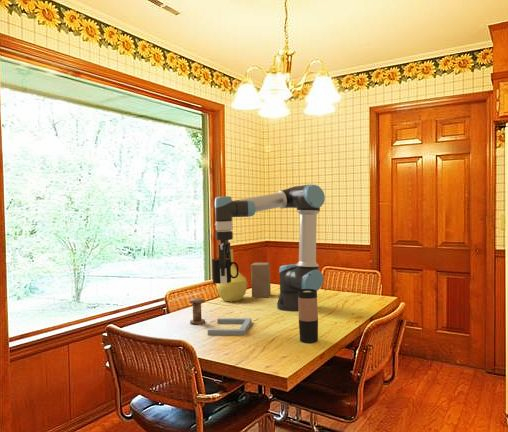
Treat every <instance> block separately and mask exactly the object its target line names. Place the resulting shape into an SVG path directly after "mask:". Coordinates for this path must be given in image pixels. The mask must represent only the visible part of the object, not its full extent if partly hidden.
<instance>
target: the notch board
mask: <svg viewBox="0 0 508 432" xmlns="http://www.w3.org/2000/svg"><path fill="white" fill-rule="evenodd" d="M216 321H217V324H227V325H228V324H229V325H230V324H238V325H240V324H242V325H241V326H240V328H208V329H207V336H245V335H246V333H247V332H248V331H249V328H250V327H251V324H252V323H253V321H252V318H251V317H250V318H249V317H241V318H240V317H236V318H235V317H218V318H217V319H216Z"/></svg>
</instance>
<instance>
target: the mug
mask: <svg viewBox="0 0 508 432" xmlns="http://www.w3.org/2000/svg"><path fill="white" fill-rule="evenodd" d="M232 264H234V266H235V268H236V269H237V274H236V276H235V277H233V276H232V275H231V265H232ZM211 267H212V268H211V270H212V271H211V272H212V283H213V284H216V283H217V284H222V283H221V282H220V269H218V267H219V257H217V258H212V259H211ZM226 270H227V283H229V282H231V278H237V276H238V274H239V272H240V271H239V270H240V269H239V265H238V263H237V262H235V261H234V262H231V261H230V258H227V259H226Z"/></svg>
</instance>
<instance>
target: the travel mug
mask: <svg viewBox="0 0 508 432" xmlns="http://www.w3.org/2000/svg"><path fill="white" fill-rule="evenodd" d="M318 309H319V308H318V291H317V290H315V289H301V290H298V310H297V311H298V329H299V331H298V332H299V341H300V342H301V343H303V344H314V343H315V344H316V343H317V342H318V341H319V310H318Z"/></svg>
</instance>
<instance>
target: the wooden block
mask: <svg viewBox="0 0 508 432" xmlns="http://www.w3.org/2000/svg"><path fill="white" fill-rule="evenodd" d="M270 266H271V263H270V262H252V264H250V274H251V276H250V277H251V280H250V281H251V298H253V297H255V298H256V299H257V298H260V299H264V298H266V299H268V298H269V297H270V296H271V295H272V291H271V267H270ZM255 298H254V299H255Z"/></svg>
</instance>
